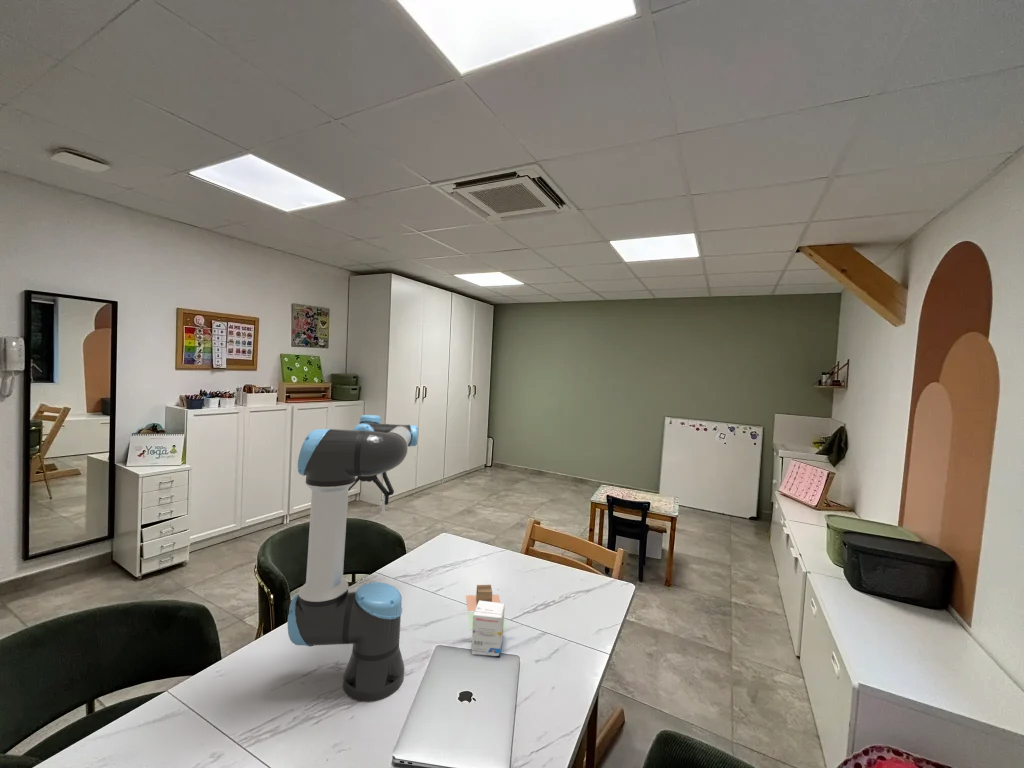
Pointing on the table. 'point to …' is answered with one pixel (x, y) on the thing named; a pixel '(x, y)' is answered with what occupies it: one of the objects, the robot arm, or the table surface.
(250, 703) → the table surface
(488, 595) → the walnut block
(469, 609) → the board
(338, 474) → the robot arm
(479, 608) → the ink box
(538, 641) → the table surface
